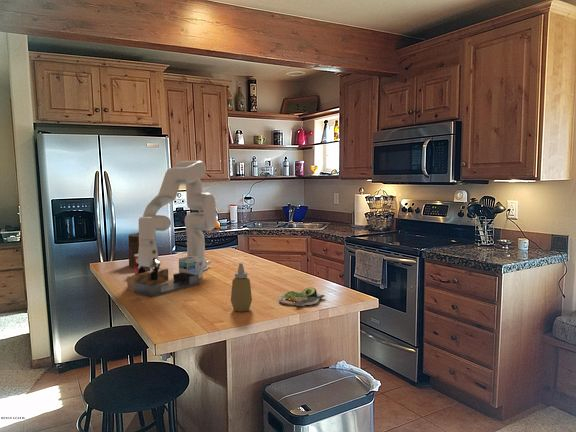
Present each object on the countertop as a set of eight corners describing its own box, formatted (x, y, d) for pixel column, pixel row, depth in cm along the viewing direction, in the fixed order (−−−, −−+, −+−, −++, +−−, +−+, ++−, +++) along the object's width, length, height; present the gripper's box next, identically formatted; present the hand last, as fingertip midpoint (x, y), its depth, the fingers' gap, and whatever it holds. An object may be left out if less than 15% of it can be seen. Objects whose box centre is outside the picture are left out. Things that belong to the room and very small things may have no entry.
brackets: (182, 281, 209) (182, 272, 209) (199, 284, 202) (198, 275, 202) (133, 293, 187) (133, 282, 187) (150, 297, 180) (150, 286, 180)
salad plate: (316, 311, 162) (316, 299, 162) (272, 307, 167) (272, 295, 167) (326, 297, 181) (326, 286, 180) (285, 294, 185) (285, 284, 185)
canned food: (145, 277, 218) (145, 256, 217) (131, 276, 219) (131, 255, 218) (153, 274, 225) (152, 253, 224) (139, 273, 227) (139, 252, 226)
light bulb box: (188, 281, 209) (187, 259, 208) (178, 279, 212) (178, 258, 211) (203, 277, 218) (203, 256, 217) (193, 275, 221) (193, 255, 220)
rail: (161, 279, 214) (161, 267, 213) (168, 280, 212) (168, 268, 211) (127, 289, 194) (127, 276, 194) (134, 290, 192) (134, 277, 192)
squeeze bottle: (231, 307, 166) (230, 261, 165) (252, 306, 167) (251, 261, 166) (230, 313, 158) (229, 265, 157) (252, 312, 159) (251, 265, 158)
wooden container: (159, 265, 247) (158, 228, 245) (132, 268, 238) (131, 229, 236) (151, 261, 259) (150, 225, 257) (126, 264, 251) (124, 227, 249)
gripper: (165, 243, 199) (166, 279, 200) (143, 240, 209) (143, 275, 211) (152, 245, 193) (152, 282, 194) (129, 242, 203) (130, 277, 205)
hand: (148, 278), depth 202 cm, fingers open, 9 cm apart
